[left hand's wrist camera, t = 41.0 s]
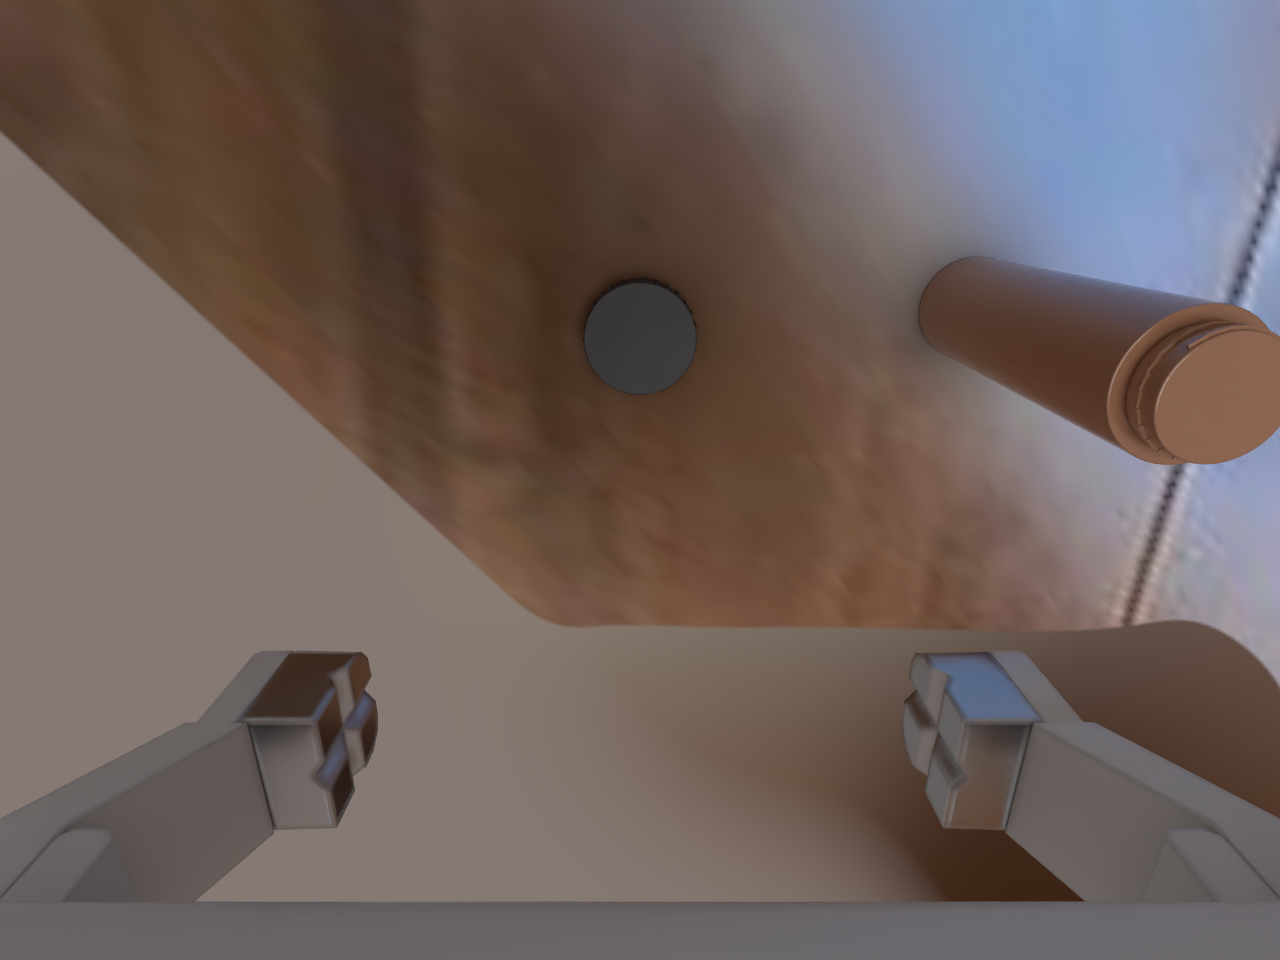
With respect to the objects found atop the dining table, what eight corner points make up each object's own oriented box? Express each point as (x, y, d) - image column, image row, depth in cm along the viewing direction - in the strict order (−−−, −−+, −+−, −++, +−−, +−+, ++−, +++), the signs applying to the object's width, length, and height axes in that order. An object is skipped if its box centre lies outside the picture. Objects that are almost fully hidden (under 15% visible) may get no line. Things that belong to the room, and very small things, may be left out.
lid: (609, 258, 37) (608, 261, 35) (714, 305, 37) (717, 309, 36) (568, 363, 39) (565, 370, 37) (668, 404, 39) (669, 413, 38)
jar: (1034, 319, 38) (1341, 420, 21) (945, 375, 39) (1171, 511, 22) (992, 235, 36) (1288, 273, 20) (901, 295, 37) (1109, 379, 21)
